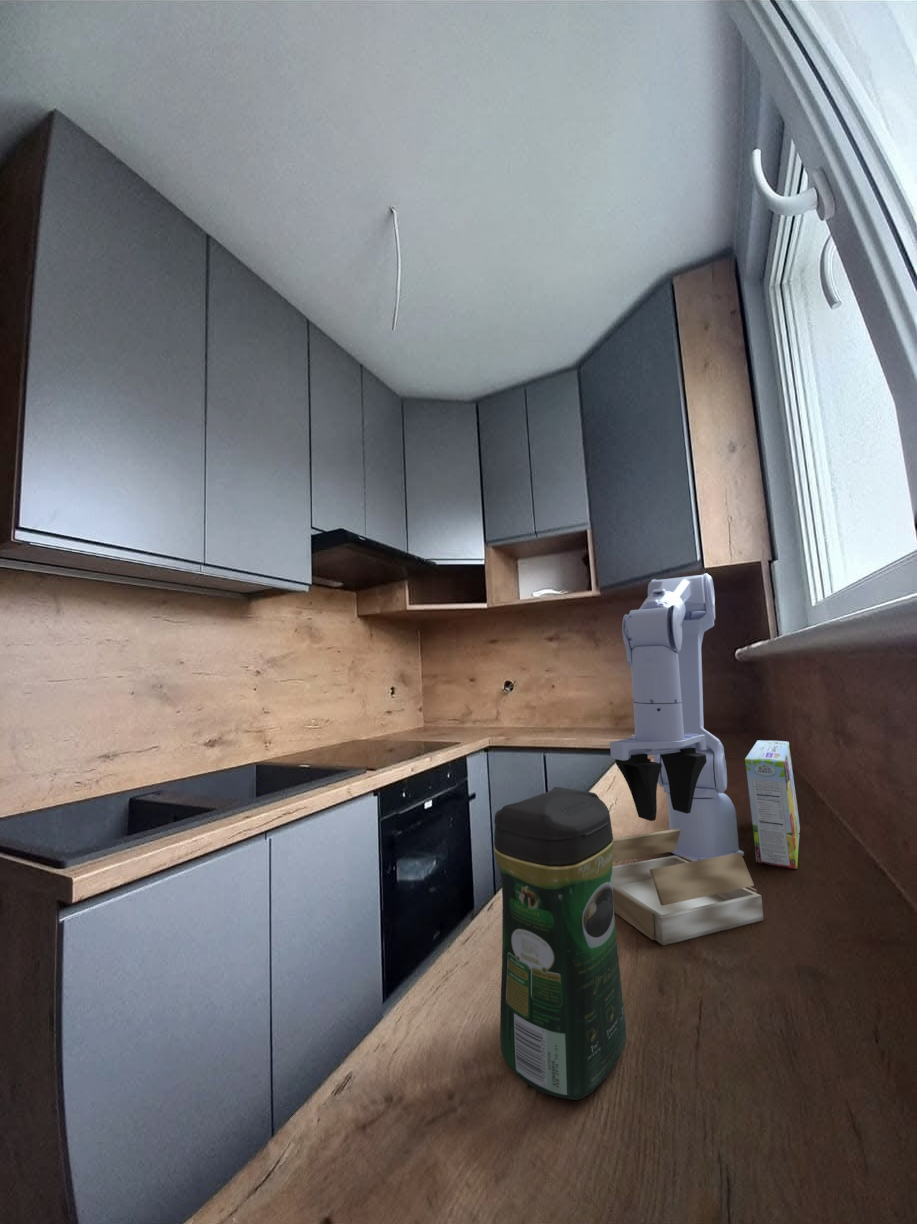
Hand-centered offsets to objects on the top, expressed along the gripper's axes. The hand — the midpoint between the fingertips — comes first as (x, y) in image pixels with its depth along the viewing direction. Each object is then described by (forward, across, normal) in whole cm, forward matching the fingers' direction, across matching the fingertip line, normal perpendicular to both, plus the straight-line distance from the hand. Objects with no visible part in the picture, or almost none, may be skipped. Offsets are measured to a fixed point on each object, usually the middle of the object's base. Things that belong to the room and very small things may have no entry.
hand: (664, 814), depth 59 cm
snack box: (+11, -32, -6) cm, 34 cm away
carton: (+10, 0, 0) cm, 10 cm away
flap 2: (+7, +1, +6) cm, 10 cm away
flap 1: (+7, -1, -6) cm, 10 cm away
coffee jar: (+11, +26, +12) cm, 30 cm away
